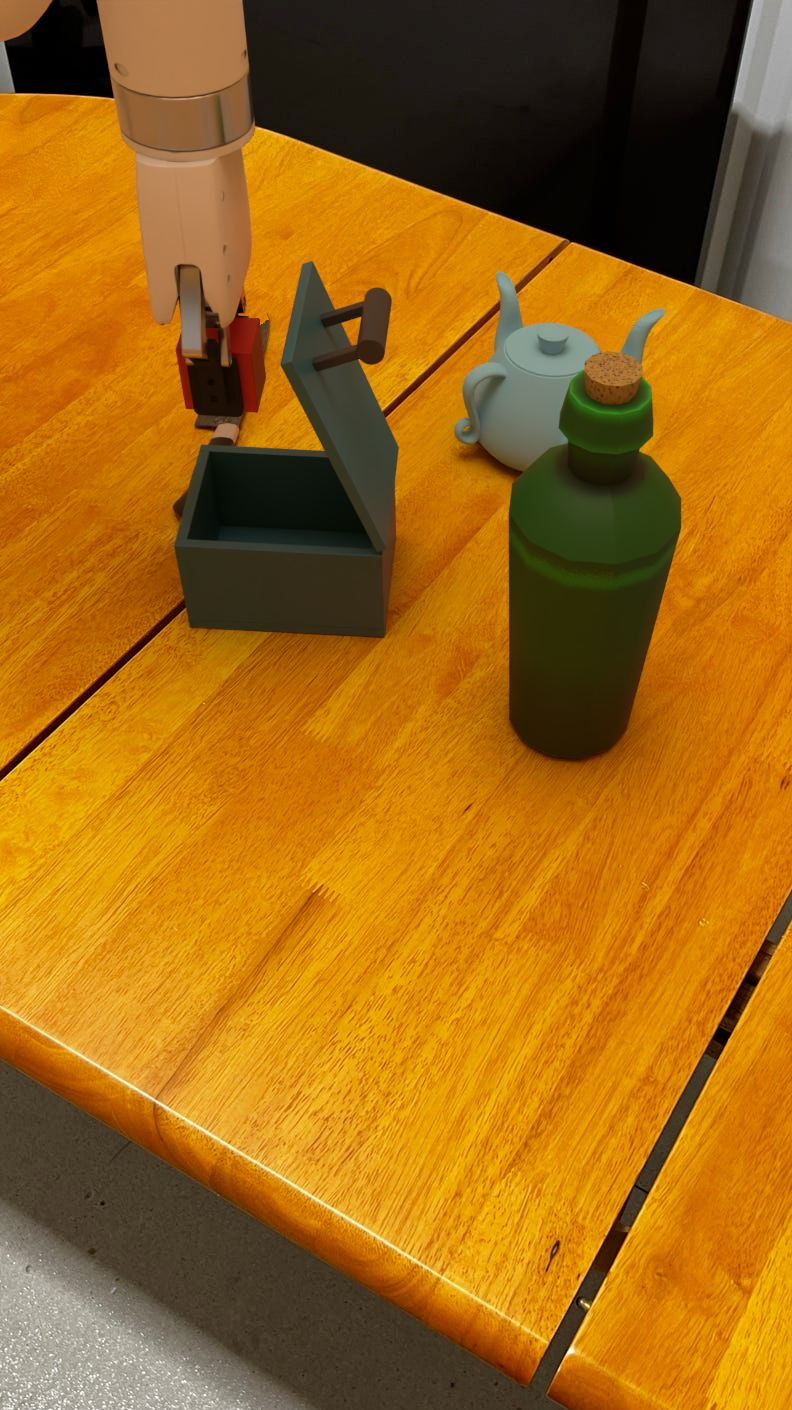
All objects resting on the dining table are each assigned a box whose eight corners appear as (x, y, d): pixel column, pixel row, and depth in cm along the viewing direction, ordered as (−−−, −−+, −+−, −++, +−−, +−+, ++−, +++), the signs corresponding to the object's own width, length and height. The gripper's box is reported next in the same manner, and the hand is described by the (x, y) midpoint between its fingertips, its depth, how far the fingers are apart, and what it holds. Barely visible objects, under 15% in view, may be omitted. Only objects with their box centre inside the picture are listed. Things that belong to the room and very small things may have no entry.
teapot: (431, 463, 111) (432, 354, 103) (496, 369, 119) (502, 261, 111) (595, 510, 108) (609, 401, 100) (650, 409, 116) (667, 302, 108)
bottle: (622, 658, 98) (682, 308, 75) (658, 766, 92) (735, 420, 69) (481, 672, 96) (499, 320, 74) (508, 782, 90) (536, 435, 68)
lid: (279, 364, 80) (363, 339, 79) (301, 263, 87) (379, 238, 85) (376, 552, 92) (452, 533, 90) (389, 450, 99) (459, 431, 97)
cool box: (189, 627, 98) (173, 545, 92) (213, 526, 105) (200, 443, 99) (384, 637, 98) (382, 556, 92) (396, 535, 105) (394, 454, 99)
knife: (240, 317, 124) (237, 304, 123) (282, 316, 124) (280, 302, 123) (157, 531, 105) (152, 517, 104) (207, 530, 104) (203, 516, 103)
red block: (185, 409, 87) (175, 349, 83) (195, 374, 89) (186, 314, 85) (258, 413, 87) (250, 353, 83) (266, 377, 89) (259, 317, 85)
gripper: (146, 35, 78) (190, 319, 93) (84, 173, 68) (145, 467, 83) (272, 41, 78) (296, 325, 93) (228, 181, 68) (264, 473, 83)
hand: (225, 389), depth 88 cm, fingers closed on red block, 4 cm apart
